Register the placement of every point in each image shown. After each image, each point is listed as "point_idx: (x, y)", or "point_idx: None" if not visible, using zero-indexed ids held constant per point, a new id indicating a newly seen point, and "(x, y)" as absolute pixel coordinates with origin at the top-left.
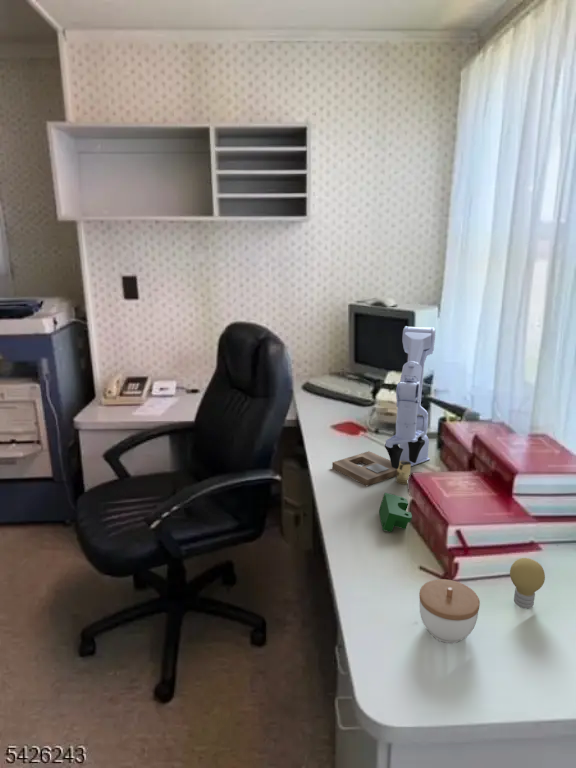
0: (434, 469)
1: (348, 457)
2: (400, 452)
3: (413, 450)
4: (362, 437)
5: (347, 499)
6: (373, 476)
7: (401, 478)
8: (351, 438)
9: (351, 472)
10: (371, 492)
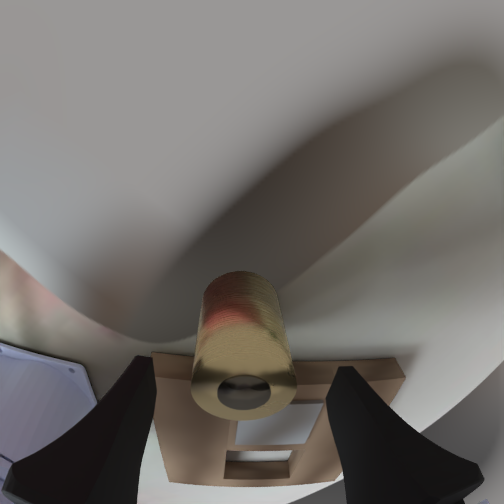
0: (9, 281)
1: (267, 486)
2: (430, 468)
3: (128, 452)
4: None
5: (500, 318)
6: None
7: (280, 312)
8: None
9: None
10: (434, 313)
